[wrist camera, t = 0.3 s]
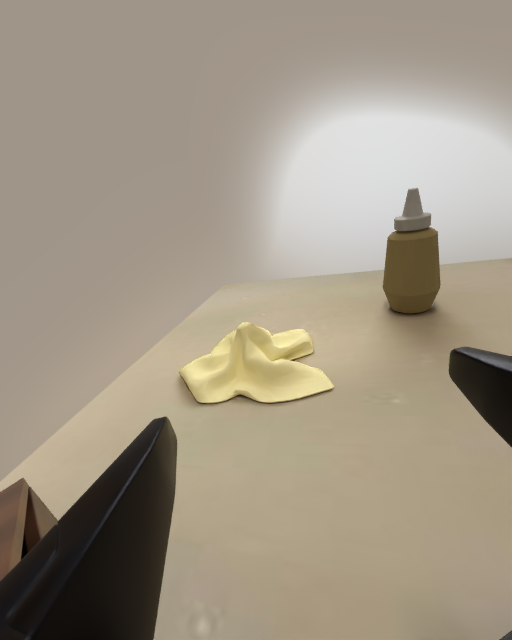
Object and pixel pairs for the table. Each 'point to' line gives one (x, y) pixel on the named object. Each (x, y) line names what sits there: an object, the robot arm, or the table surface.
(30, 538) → the tea box
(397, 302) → the squeeze bottle
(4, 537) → the lid
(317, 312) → the table surface
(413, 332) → the table surface
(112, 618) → the robot arm
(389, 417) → the table surface
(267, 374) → the cloth
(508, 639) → the button block
